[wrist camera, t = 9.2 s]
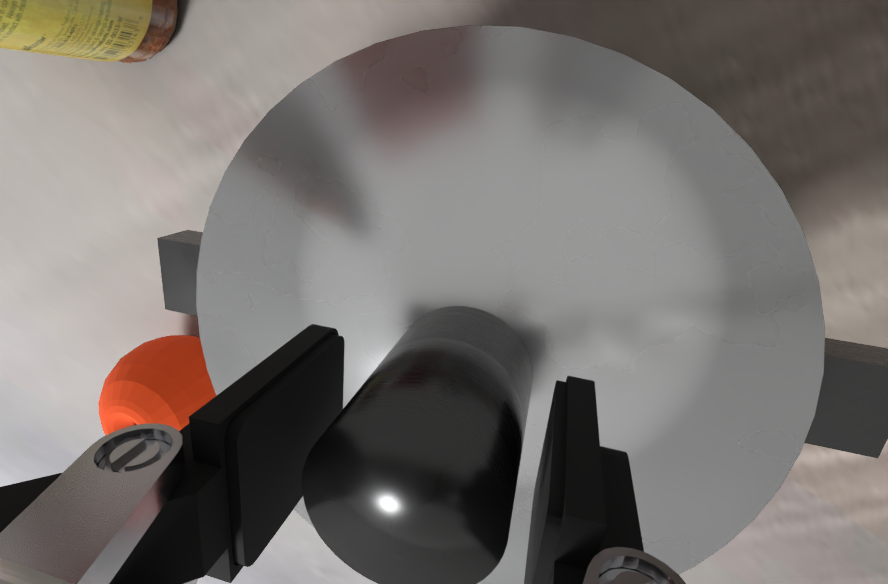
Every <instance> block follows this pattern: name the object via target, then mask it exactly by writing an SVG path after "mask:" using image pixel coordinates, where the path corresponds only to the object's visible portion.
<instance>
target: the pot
mask: <svg viewBox="0 0 888 584" xmlns="http://www.w3.org/2000/svg"><path fill="white" fill-rule="evenodd" d="M202 235H203V233H202V232H196V231H190V230H186V231H182V232H179V233H175V234H171V235H168V236H164V237H160V238H157V239H158V248H159V256H160V265H161V274H162V283H163V292H164V301H165V309H167V310H172V311H176V312H181V313H186V314H191V315H195V316H197V307H196V288H197V266H198V259H199V252H200V245H201V238H202ZM887 439H888V349H887V348H882V347H876V346H870V345H864V344H858V343H852V342H846V341H840V340H834V339H829V338H825V347H824V373H823V378H822V383H821V388H820V392H819V397H818V402H817V407H816V412H815V416H814V418H813V421H812V424H811V426H810V429H809V431H808V434H807V437H806V439H805V442H804V443H808V444H813V445H817V446H822V447H827V448H832V449H836V450H841V451H846V452H851V453H856V454H860V455H865V456H870V457H875V458H878V457H879V455H880V453H881V451H882V449H883V447H884V445H885V443H886V441H887Z"/></svg>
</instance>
